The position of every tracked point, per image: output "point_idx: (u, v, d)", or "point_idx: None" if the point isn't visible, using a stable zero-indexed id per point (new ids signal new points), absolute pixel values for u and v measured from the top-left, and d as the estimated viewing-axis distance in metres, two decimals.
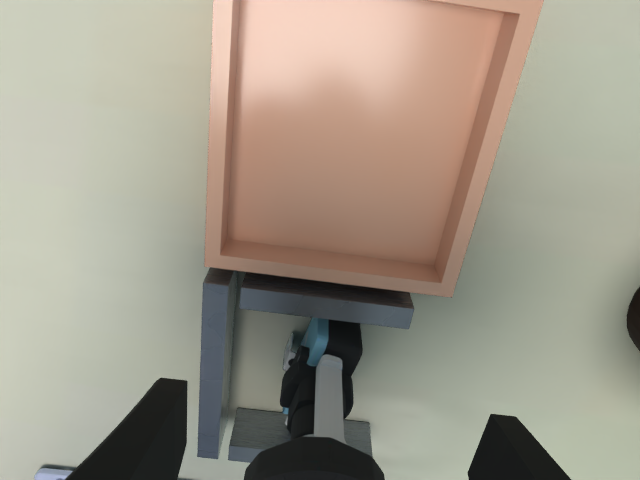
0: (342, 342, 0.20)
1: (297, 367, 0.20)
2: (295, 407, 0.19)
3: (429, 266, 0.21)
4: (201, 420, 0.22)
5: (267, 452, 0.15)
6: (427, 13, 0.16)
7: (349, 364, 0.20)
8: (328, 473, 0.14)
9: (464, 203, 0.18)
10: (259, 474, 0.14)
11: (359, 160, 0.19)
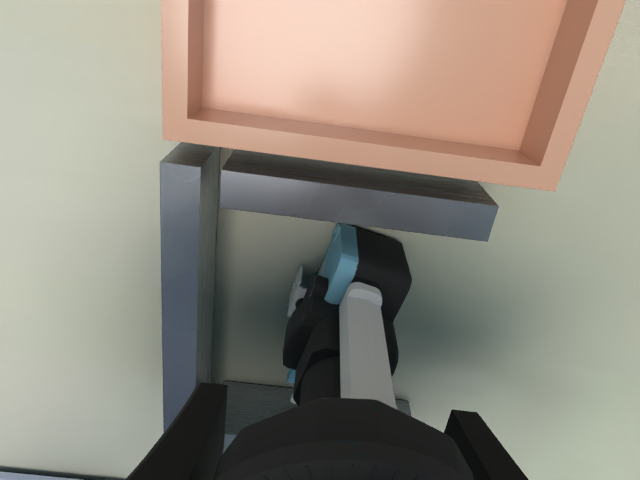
0: (380, 267, 0.13)
1: (310, 304, 0.13)
2: (307, 362, 0.11)
3: (513, 151, 0.13)
4: (167, 393, 0.15)
5: (256, 427, 0.08)
6: None
7: (390, 301, 0.13)
8: (380, 466, 0.07)
9: (592, 16, 0.11)
10: (238, 468, 0.07)
11: None
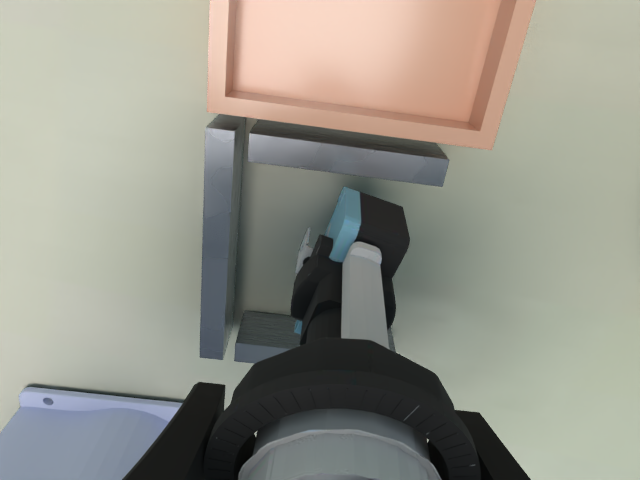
0: (380, 228, 0.14)
1: (316, 261, 0.14)
2: (312, 313, 0.13)
3: (463, 122, 0.18)
4: (204, 310, 0.19)
5: (267, 362, 0.10)
6: None
7: (390, 260, 0.14)
8: (370, 390, 0.08)
9: (510, 22, 0.15)
10: (251, 391, 0.08)
11: None
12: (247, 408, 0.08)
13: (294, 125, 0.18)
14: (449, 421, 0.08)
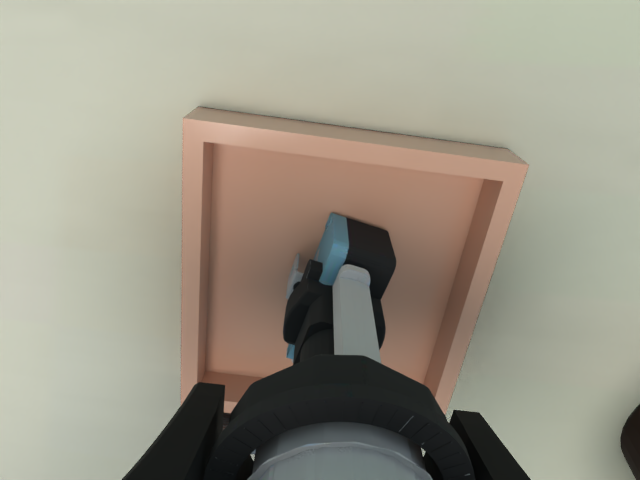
0: (368, 251, 0.14)
1: (306, 285, 0.14)
2: (305, 335, 0.13)
3: None
4: None
5: (263, 381, 0.10)
6: None
7: (378, 281, 0.15)
8: (366, 402, 0.08)
9: (449, 351, 0.17)
10: (250, 409, 0.09)
11: None
12: (246, 425, 0.08)
13: None
14: (443, 430, 0.08)
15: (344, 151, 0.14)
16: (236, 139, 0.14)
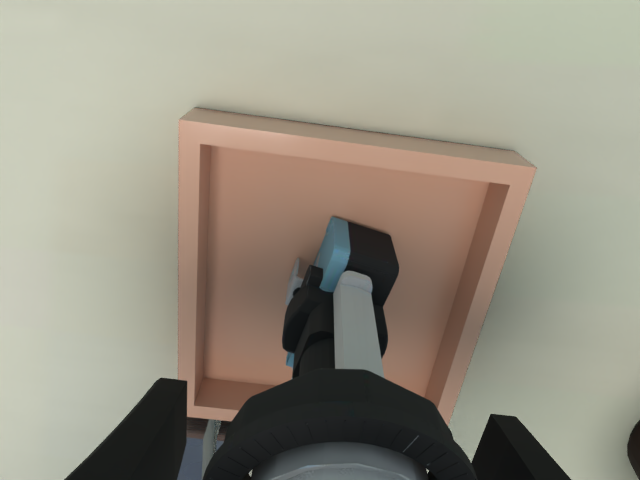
0: (370, 257, 0.14)
1: (306, 291, 0.14)
2: (304, 344, 0.13)
3: None
4: None
5: (260, 396, 0.09)
6: None
7: (380, 288, 0.14)
8: (368, 421, 0.08)
9: (453, 358, 0.17)
10: (246, 427, 0.08)
11: None
12: (242, 445, 0.08)
13: None
14: (449, 450, 0.08)
15: (345, 154, 0.13)
16: (234, 141, 0.13)
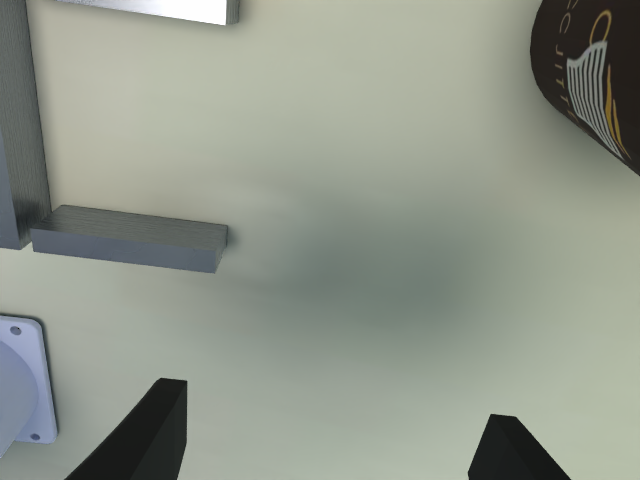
0: None
1: None
2: None
3: None
4: None
5: None
6: None
7: None
8: None
9: None
10: None
11: None
12: None
13: None
14: None
15: None
16: None
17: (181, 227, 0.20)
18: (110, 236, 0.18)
